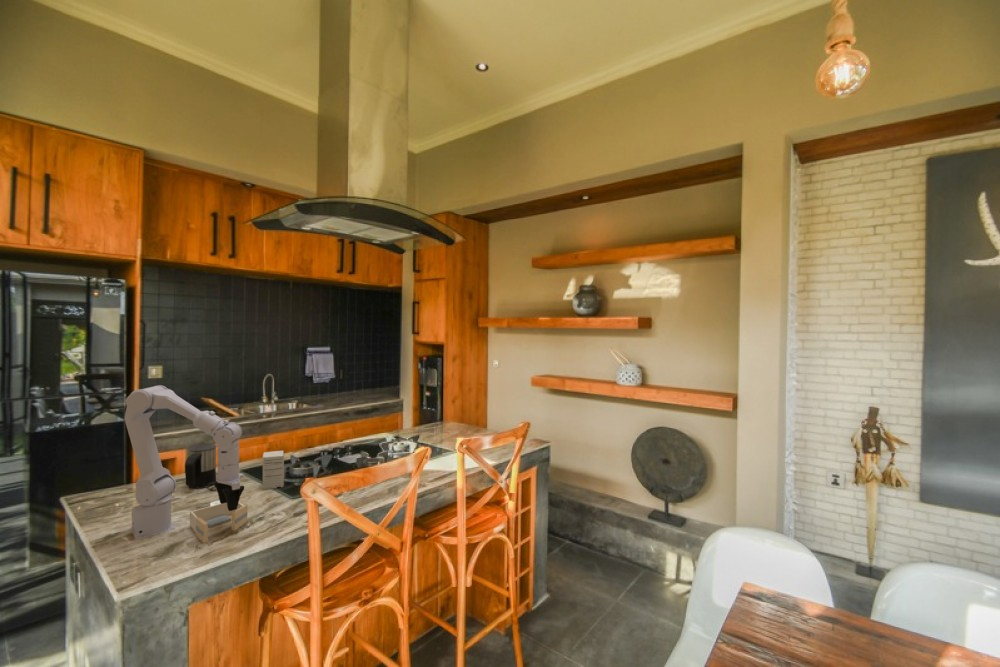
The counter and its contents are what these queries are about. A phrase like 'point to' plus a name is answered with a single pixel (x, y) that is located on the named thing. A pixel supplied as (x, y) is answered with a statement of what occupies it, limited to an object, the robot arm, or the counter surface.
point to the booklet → (218, 521)
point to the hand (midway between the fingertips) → (228, 506)
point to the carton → (212, 514)
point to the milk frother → (201, 466)
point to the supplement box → (273, 469)
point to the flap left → (201, 529)
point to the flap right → (239, 517)
